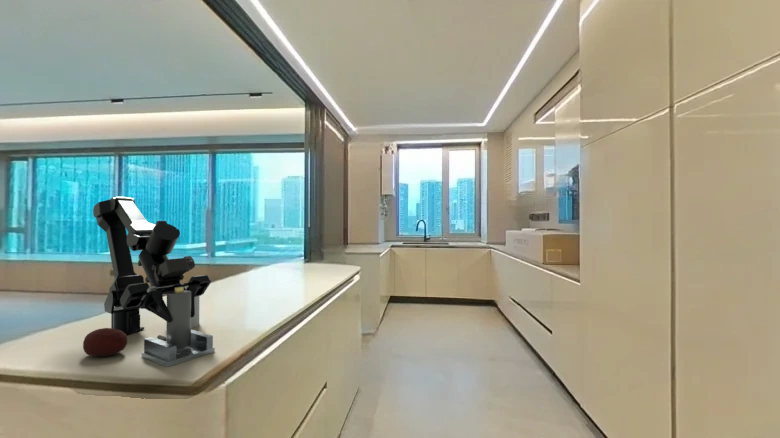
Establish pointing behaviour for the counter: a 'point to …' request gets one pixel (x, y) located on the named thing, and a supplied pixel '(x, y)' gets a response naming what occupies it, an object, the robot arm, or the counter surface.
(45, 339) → the counter surface
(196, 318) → the cup
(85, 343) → the potato
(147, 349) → the housing
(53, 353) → the counter surface
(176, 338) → the plug
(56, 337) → the counter surface
